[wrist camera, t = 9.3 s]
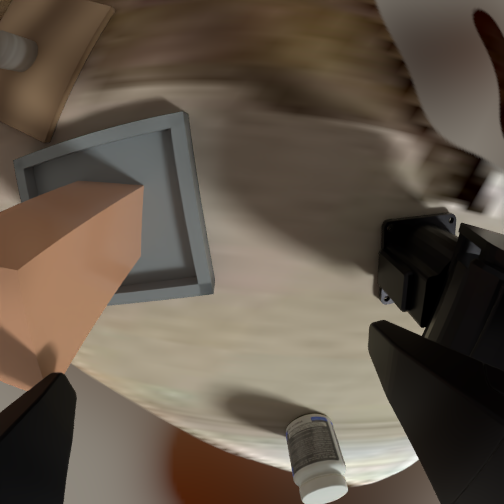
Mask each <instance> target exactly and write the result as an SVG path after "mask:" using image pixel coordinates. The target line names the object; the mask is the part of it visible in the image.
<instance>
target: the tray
mask: <svg viewBox="0 0 504 504" xmlns="http://www.w3.org/2000/svg"><path fill="white" fill-rule="evenodd" d="M13 162H14V168H15V174H16V179H17V184H18V189H19V194H20V199H21V203H22V202H25V201H27V200H29V199H32V198H34V197H37V196H39V195H42V194H44V193H47V192H49V191H52V190H55V189H57V188H60V187H63V186H65V185H68V184H71V183H74V182H76V181H91V182H106V183H119V184H132V185H143V186H144V193H143V209H142V231H141V257H140V258H139V259H138V261H137V262H136V264H135V265H134V266H133V268H132V269H131V271H130V272H129V274H128V275H127V276H126V278H125V279H124V281H123V282H122V284H121V285H120V287H119V288H118V290H117V291H116V292H115V294H114V295H113V297H112V298H111V300H110V301H109V303H108V304H107V306H108V305H119V304H129V303H139V302H148V301H158V300H167V299H176V298H184V297H193V296H201V295H209V294H213V293H214V285H215V277H214V272H213V266H212V261H211V255H210V250H209V244H208V239H207V233H206V227H205V221H204V216H203V210H202V204H201V198H200V191H199V185H198V179H197V172H196V166H195V159H194V153H193V146H192V139H191V132H190V125H189V118H188V114H187V113H185V112H183V111H182V112H177V113H171V114H167V115H162V116H157V117H152V118H148V119H144V120H139V121H135V122H131V123H127V124H123V125H119V126H115V127H111V128H108V129H104V130H101V131H97V132H94V133H90V134H87V135H84V136H80V137H77V138H74V139H71V140H68V141H65V142H62V143H59V144H56V145H53V146H50V147H47V148H44V149H42V150H39V151H36V152H34V153H31V154H28V155H26V156H23V157H21V158H18V159H16V160H13Z"/></svg>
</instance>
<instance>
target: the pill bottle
mask: <svg viewBox="0 0 504 504" xmlns="http://www.w3.org/2000/svg"><path fill="white" fill-rule="evenodd" d="M286 439H287V445H288V450H289V456H290V461H291V467H292V473H293V479H294V482H295V483H296V485H298V486H299V487H300V488H299V489H300V494H301V499H302V502H303V503H305V504H325V503H328V502H331V501H334V500H337V499H339V498H340V497H342V496H343V495H345V493H346V492H347V490H348V487H347V484H346V480H345V477H344V474H345V472H346V465H345V462H344V459H343V456H342V453H341V450H340V447H339V443H338V440H337V437H336V433H335V430H334V427H333V424H332V422H331V420H330V419H329V418H328V417H327V416H325V415H321V414H309V415H304V416H301V417H299V418H297V419H295V420H294V421H292V422H291V423H290V424H289V425H288V427H287V429H286Z"/></svg>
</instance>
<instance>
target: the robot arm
mask: <svg viewBox="0 0 504 504" xmlns="http://www.w3.org/2000/svg"><path fill="white" fill-rule="evenodd" d="M450 218H451V220H450V222H449V219H450ZM389 225H391V228H390V229H389V230H387V227H388V226H389ZM455 228H456V217H455V215H454V214H452V213H441V214H432V215H423V216H415V217H406V218H397V219H389V220H386V221H384V222H383V224H382V243H381V250H380V252H379V265H378V285H379V286H380V292H379V300H380V301H381V302H382V303H383V304H391V303H395V304H396V305H397V307H398V308H399V309H400V310H401V311H402V312H406V311H407V312H408V313H409V314H410V315H411V316H412V317H413V319H414V320H415V321H416V322H417V323H418V324H419V326H420V327H421V328H424V327H426V328H425V330H424V333H423V335H422V336H420V335H418V334H416V333H413V332H411V331H409V330H407V329H404V328H402V327H400V326H397V325H395V324H393V323H390V322H388V321H386V320H380V321H377V322H373V323H371V324H370V327H369V341H368V350H369V354H370V357H371V359H372V362H373V364H374V366H375V369H376V371H377V374H378V377H379V379H380V382H381V384H382V387H383V389H384V392H385V394H386V397H387V399H388V401H389V403H390V404H391V406H392V408H393V410H394V412H395V414H396V416H397V418H398V419H399V421H400V423H401V425H402V427H403V429H404V431H405V433H406V435H407V437H408V439H409V441H410V442H411V444H412V446H413V448H414V450H415V452H416V454H417V456H418V458H419V460H420V462H421V464H422V466H423V468H424V470H425V472H426V474H427V476H428V478H429V480H430V482H431V484H432V486H433V489H434V491H435V493H436V495H437V497H438V499H439V501H440V503H441V504H504V235H503V234H500V233H496V232H493V231H489V230H486V229H482V228H479V227H475V226H472V225H468V224H464V223H461V224H460V228H459V231H458V232H460V234H459V237H457V236H456V235H455ZM386 296H388V297H387V298H386V299H384V298H385V297H386ZM76 400H77V397H76V392H75V390H74V389H73V387H72V385H71V384H70V382H69V381H68V379H67V377H66V376H65V374H63V373H61V372H53V373H50V374H49V375H48V376H46V377H45V378H44V379H42V380H41V381H40V382H38V383H37V384H36V385H35V386H33V387H32V388H31V389H30V390H28V391H27V392H26V393H24V394H23V395H22V396H21V397H19V398H18V399H17V400H16V401H14V402H13V403H12V404H11V405H9V406H8V407H7V408H6V409H4V410H3V411H2V412H1V413H0V504H63V502H64V493H65V485H66V477H67V470H68V464H69V457H70V452H71V446H72V439H73V429H74V418H75V408H76Z"/></svg>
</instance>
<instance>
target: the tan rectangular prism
mask: <svg viewBox="0 0 504 504" xmlns="http://www.w3.org/2000/svg"><path fill="white" fill-rule="evenodd" d="M143 193H144V186H143V185H132V184H119V183H106V182H91V181H76V182H74V183H71V184H68V185H65V186H63V187H60V188H57V189H55V190H52V191H49V192H47V193H44V194H42V195H39V196H37V197H34V198H32V199H29V200H27V201H25V202H22V203H20V204H17V205H15V206H13V207H11V208H8V209H6V210H4V211H2V212H0V381H2V382H4V383H7V384H10V385H12V386H15V387H17V388H20V389H23V390H25V391H28V390H30V389H31V388H32V387H33V386H35V385H36V384H37V383H38V382H40V381H41V380H42V379H44V378H45V377H46V376H48V375H49V374H50V373H53V372H61V373H63V374H64V373H65V372H66V370H67V368H68V367H69V365H70V363H71V362H72V360H73V358H74V357H75V355H76V353H77V352H78V350H79V348H80V347H81V345H82V344H83V342H84V340H85V339H86V337H87V335H88V334H89V332H90V331H91V329H92V328H93V326H94V324H95V323H96V321H97V320H98V318H99V317H100V315H101V314H102V312H103V310H104V309H105V307H106V306H107V304H108V303H109V301H110V300H111V298H112V297H113V295H114V294H115V292H116V291H117V290H118V288H119V287H120V285H121V284H122V282H123V281H124V279H125V278H126V276H127V275H128V274H129V272H130V271H131V269H132V268H133V266H134V265H135V264H136V262H137V261H138V259H139V258H140V257H141V231H142V209H143Z"/></svg>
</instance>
